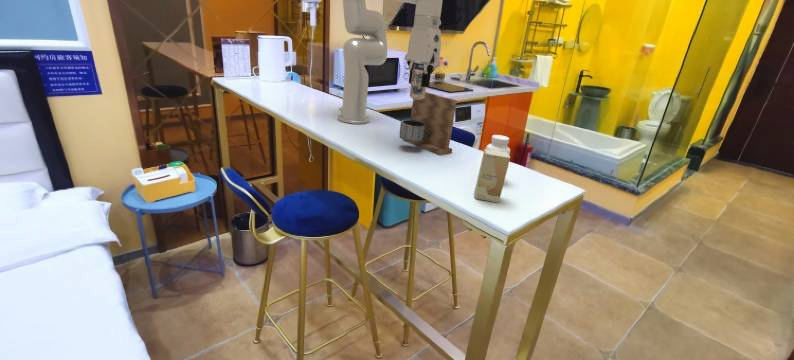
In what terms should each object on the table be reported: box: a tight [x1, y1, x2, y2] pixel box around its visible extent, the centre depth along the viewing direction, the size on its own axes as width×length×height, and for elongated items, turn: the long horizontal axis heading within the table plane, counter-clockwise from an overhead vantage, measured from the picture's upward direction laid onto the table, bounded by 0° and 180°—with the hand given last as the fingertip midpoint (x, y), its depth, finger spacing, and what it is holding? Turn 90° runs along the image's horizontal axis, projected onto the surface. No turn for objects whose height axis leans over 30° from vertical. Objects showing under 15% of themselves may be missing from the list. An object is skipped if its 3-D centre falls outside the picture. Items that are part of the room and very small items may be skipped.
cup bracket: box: [399, 91, 458, 156], centre depth 128 cm, size 18×15×18 cm
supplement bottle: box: [485, 134, 511, 156], centre depth 108 cm, size 7×7×13 cm
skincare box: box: [473, 148, 511, 203], centre depth 96 cm, size 6×4×12 cm
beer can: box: [409, 60, 429, 100], centre depth 120 cm, size 5×5×12 cm
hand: (418, 84), depth 121 cm, fingers closed on beer can, 4 cm apart
